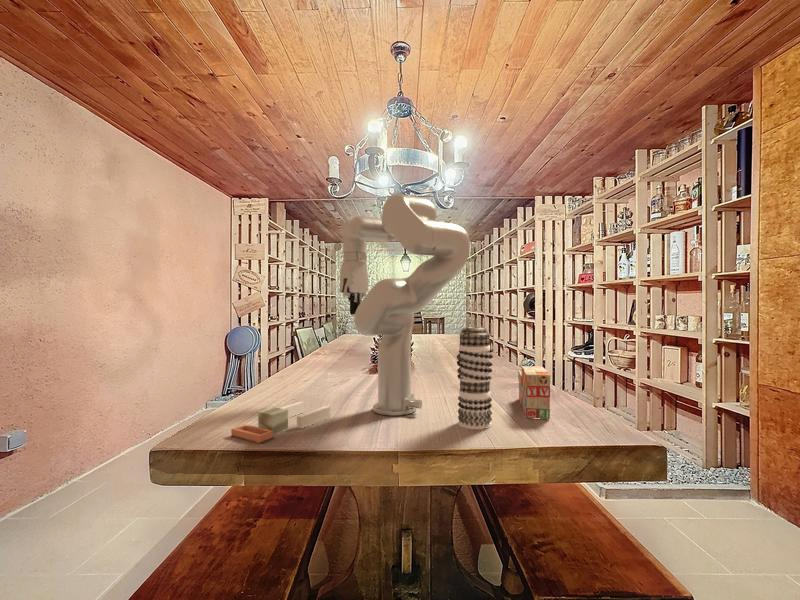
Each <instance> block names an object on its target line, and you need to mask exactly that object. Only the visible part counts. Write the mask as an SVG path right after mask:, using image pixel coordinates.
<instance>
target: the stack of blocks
mask: <svg viewBox="0 0 800 600" xmlns="http://www.w3.org/2000/svg"><path fill="white" fill-rule="evenodd" d="M517 372H518V375H517V377H518V397H519V398H518V400H519V399H520V400H519V402H520V403H519V404H520V406H521V405H522V406H521V407H523V408H522V410H524V411H523V414H524V413H525V414H524V417H525V416H526V417H525V419H526V418H540V419H539V420H544V419H551V409H550V408H551V407H550V406H551V405H550V403H551V400H550V398H551V375H550V373H549V371H548V370H547V369H546V368H544V367H543V366H538V365H537V366H533V365H531V366H527V365H526V366H525V365H521V370H518V371H517Z"/></svg>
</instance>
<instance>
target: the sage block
mask: <svg viewBox="0 0 800 600" xmlns="http://www.w3.org/2000/svg"><path fill="white" fill-rule="evenodd" d="M257 414H258V415H257V416H258V417H257V420H258V421H257V422H258V423H257V425H258V427H259V428H263V429H267V430H271V431H274V435H277V434H279V433H282V432H284V431H283V430H285V431H287V430H288V429H289V418H288V410H286V409H281V407H275V406H273V407H270V408H267V409H263V410H261V411H260V410H259V411H258V412H257ZM286 429H287V430H286ZM281 431H282V432H281ZM278 432H279V433H278ZM276 433H277V434H276Z"/></svg>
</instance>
